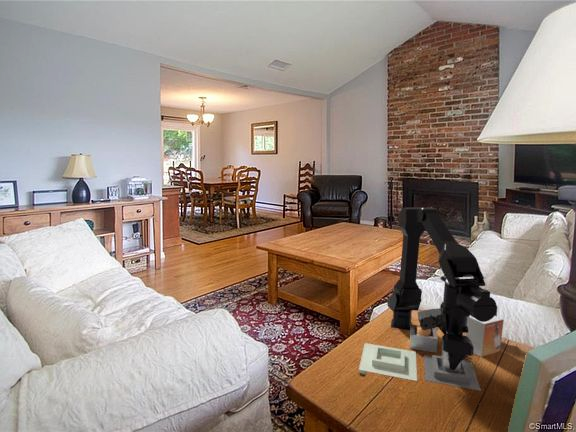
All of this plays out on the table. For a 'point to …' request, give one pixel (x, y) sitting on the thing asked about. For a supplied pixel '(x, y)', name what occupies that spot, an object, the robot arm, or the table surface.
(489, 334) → the small box
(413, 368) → the pale green socket
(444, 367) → the steel peg
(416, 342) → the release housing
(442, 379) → the charcoal socket
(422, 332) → the tan egg
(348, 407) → the table surface
